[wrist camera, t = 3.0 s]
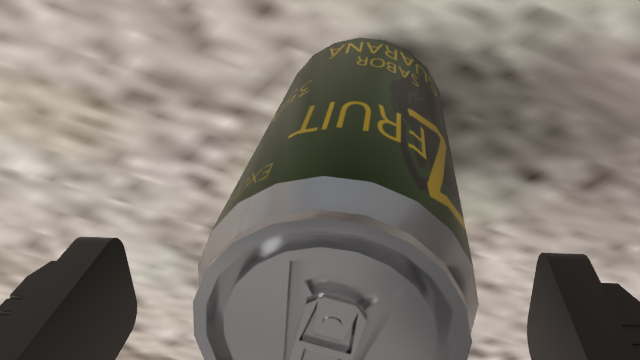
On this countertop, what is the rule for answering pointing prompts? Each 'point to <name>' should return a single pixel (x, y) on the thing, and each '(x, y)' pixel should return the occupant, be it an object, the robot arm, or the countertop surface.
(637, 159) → the countertop surface
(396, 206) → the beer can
